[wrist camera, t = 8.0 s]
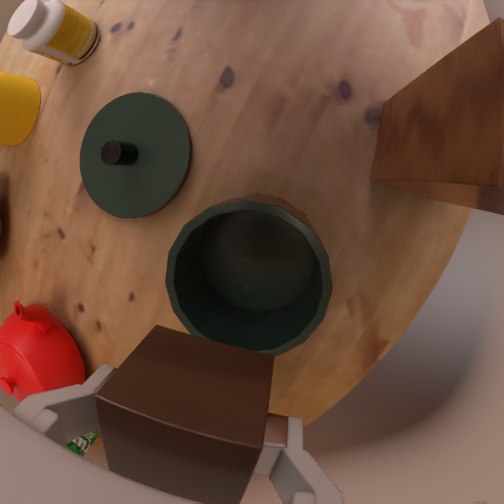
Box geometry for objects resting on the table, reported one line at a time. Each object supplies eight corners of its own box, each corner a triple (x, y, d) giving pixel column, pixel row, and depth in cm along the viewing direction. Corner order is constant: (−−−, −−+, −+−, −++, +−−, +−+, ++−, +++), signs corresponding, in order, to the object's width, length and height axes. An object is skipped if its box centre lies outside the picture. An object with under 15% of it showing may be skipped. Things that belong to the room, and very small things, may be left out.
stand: (383, 103, 25) (499, 16, 6) (450, 128, 25) (593, 98, 6) (369, 179, 27) (497, 187, 8) (438, 200, 27) (587, 239, 8)
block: (156, 323, 11) (93, 394, 6) (275, 354, 11) (263, 448, 6) (152, 406, 12) (110, 477, 8) (250, 434, 12) (234, 517, 7)
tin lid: (97, 94, 28) (73, 86, 24) (204, 98, 27) (190, 85, 23) (79, 206, 32) (54, 211, 27) (180, 228, 31) (162, 236, 26)
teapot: (85, 416, 41) (49, 460, 29) (21, 365, 41) (-20, 398, 29) (111, 307, 34) (50, 354, 22) (30, 247, 34) (-35, 271, 22)
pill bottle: (108, 20, 26) (53, -17, 15) (92, 64, 28) (28, 37, 16) (72, 26, 26) (16, -2, 15) (57, 68, 28) (-5, 48, 17)
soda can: (79, 427, 42) (46, 468, 30) (61, 396, 40) (23, 436, 29) (110, 434, 41) (78, 481, 29) (92, 401, 39) (53, 448, 28)
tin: (208, 183, 29) (177, 186, 21) (333, 210, 29) (350, 223, 20) (190, 299, 33) (160, 336, 24) (303, 325, 32) (305, 371, 23)
